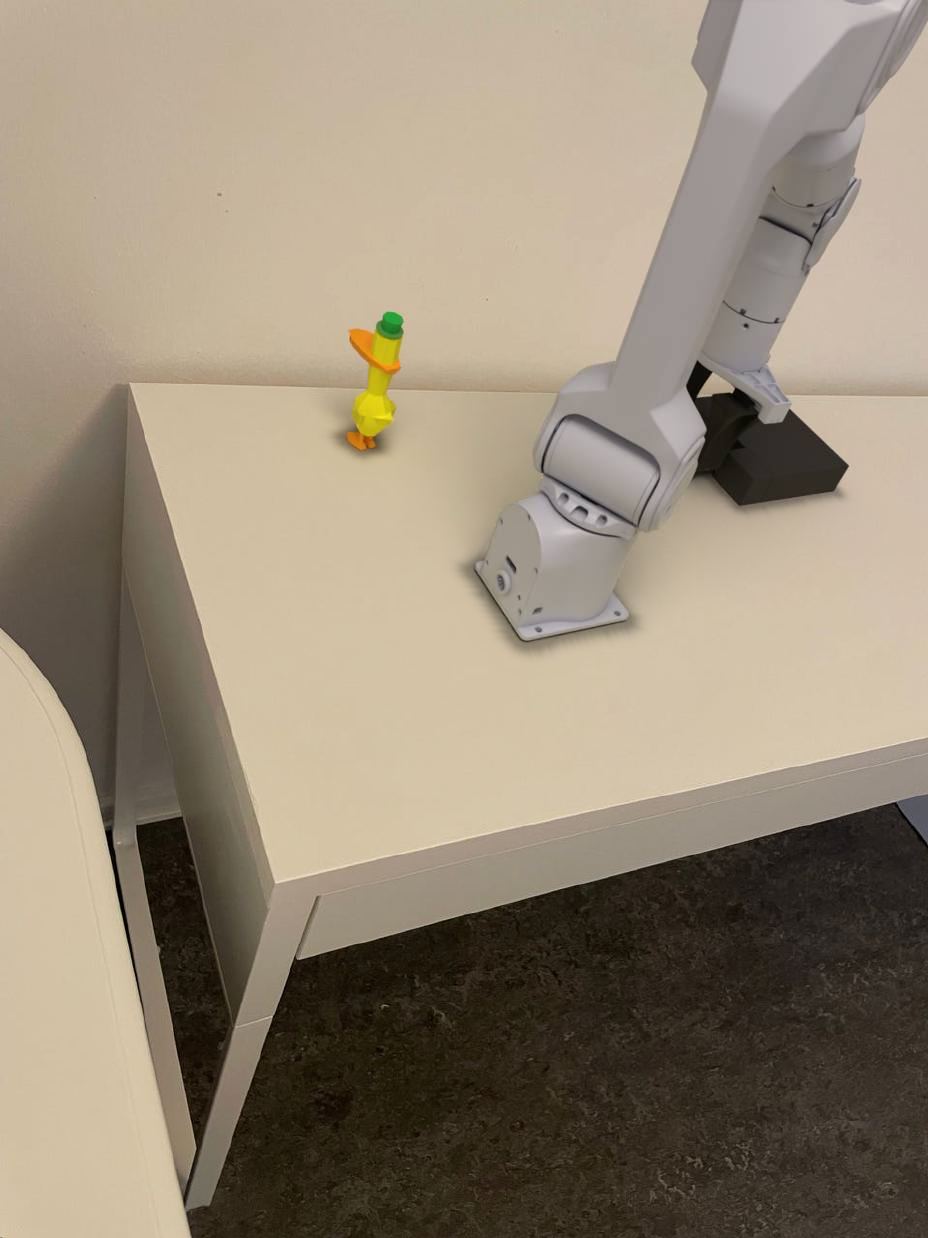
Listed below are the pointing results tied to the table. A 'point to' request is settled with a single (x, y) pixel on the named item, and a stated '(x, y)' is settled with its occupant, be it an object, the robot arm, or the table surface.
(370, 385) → the toy figure
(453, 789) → the table surface
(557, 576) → the robot arm
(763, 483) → the big pad
